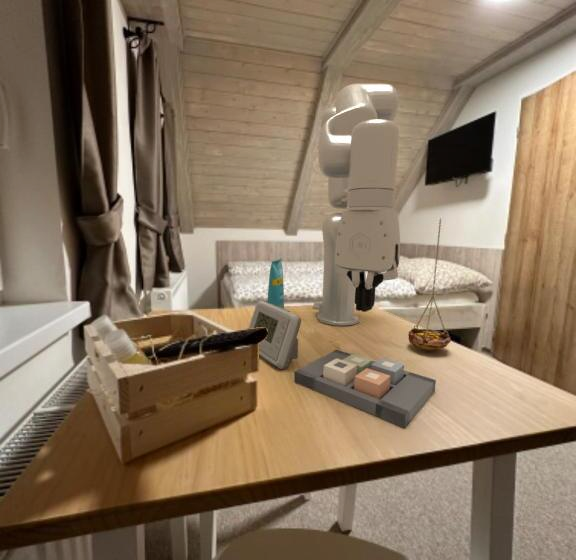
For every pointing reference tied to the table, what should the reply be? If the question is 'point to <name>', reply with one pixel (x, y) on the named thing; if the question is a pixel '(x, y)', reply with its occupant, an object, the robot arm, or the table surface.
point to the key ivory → (340, 371)
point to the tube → (276, 284)
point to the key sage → (359, 362)
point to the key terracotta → (372, 383)
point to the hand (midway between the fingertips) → (364, 309)
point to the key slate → (389, 369)
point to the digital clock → (277, 333)
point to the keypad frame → (391, 407)
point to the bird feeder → (425, 336)
